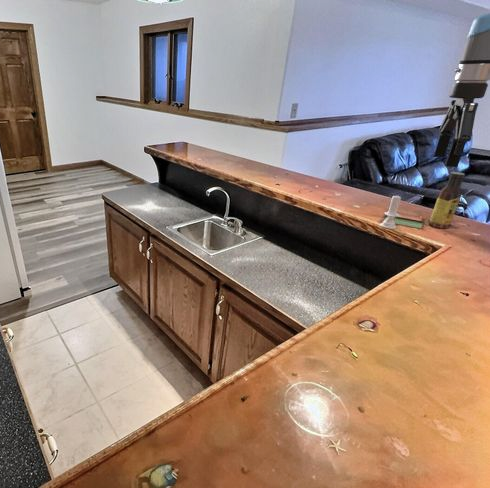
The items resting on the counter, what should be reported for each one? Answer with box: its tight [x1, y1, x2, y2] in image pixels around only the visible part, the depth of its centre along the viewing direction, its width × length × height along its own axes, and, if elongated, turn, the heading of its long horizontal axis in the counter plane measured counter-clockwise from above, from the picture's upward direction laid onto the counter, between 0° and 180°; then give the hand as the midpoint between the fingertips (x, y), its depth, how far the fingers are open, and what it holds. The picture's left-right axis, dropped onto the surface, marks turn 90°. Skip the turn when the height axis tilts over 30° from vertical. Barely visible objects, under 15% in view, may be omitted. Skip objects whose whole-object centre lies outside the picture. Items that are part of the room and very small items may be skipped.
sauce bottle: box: [428, 171, 466, 230], centre depth 125 cm, size 6×6×20 cm
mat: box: [383, 214, 424, 230], centre depth 134 cm, size 12×10×1 cm
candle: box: [379, 194, 402, 230], centre depth 127 cm, size 5×5×12 cm
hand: (444, 161), depth 103 cm, fingers open, 13 cm apart
